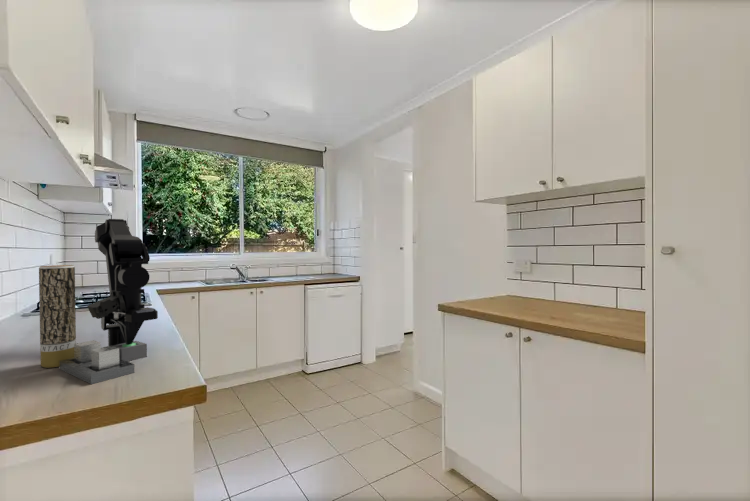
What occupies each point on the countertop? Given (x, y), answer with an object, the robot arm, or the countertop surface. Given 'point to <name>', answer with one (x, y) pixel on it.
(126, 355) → the grey hollow square block
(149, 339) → the countertop surface
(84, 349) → the block
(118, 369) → the rectangular frame
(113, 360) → the block
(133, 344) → the button
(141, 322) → the robot arm
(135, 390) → the countertop surface
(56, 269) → the paper tube
